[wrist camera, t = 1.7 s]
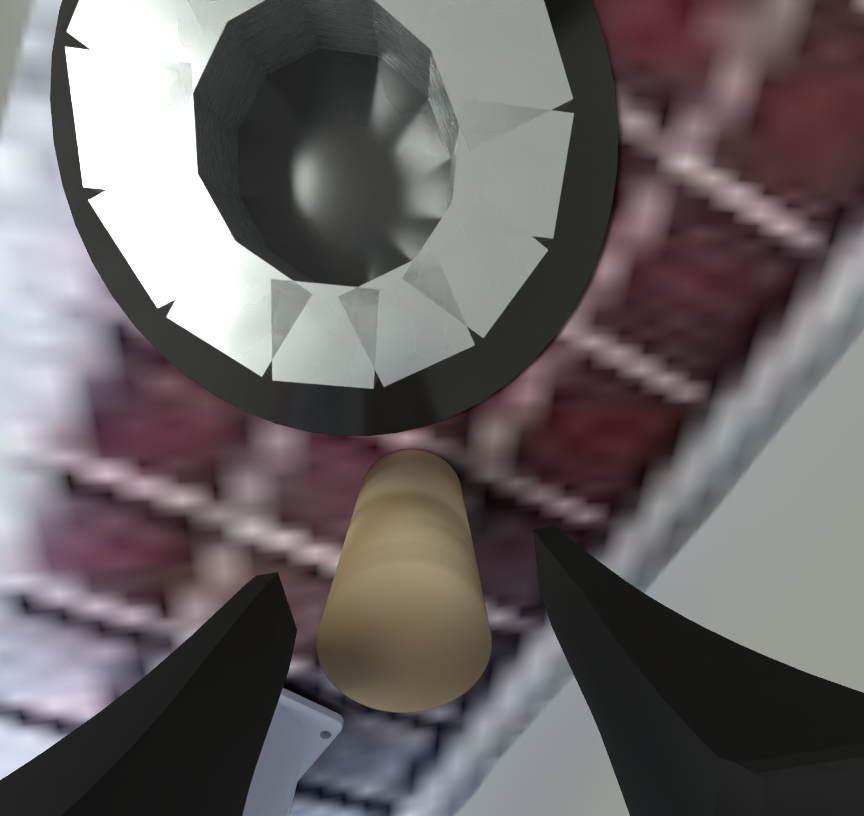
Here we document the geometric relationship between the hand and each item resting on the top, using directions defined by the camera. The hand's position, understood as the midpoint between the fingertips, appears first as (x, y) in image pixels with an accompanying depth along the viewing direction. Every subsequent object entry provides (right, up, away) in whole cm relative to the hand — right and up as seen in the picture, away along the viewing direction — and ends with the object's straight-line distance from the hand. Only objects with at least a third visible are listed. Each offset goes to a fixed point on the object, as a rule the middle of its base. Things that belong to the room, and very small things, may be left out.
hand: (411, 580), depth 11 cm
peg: (0, +1, +5) cm, 5 cm away
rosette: (-2, +12, +2) cm, 12 cm away
